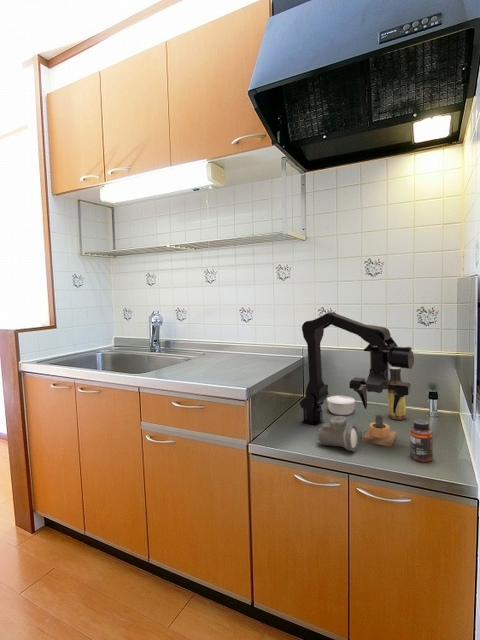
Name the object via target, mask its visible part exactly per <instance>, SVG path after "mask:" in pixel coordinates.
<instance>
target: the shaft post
mask: <svg viewBox="0 0 480 640" xmlns="http://www.w3.org/2000/svg"><path fill="white" fill-rule="evenodd" d="M375 422H376V428H383V423H384V415H382V414H376V415H375ZM361 438H362V439H361V440H362V442H366V443H371V444H374V445H381V446H385V447H390V448H391V447H392V445H393V444H394V441H395V440H396V438H397V432H396V431H391V430H390V435H389V437H388V438H376V437H372V436H371V435H370V434H369V428H368V429H367V430H366V431H365V432H364V434H363V435H362V436H361Z"/></svg>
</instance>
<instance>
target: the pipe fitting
mask: <svg viewBox="0 0 480 640" xmlns="http://www.w3.org/2000/svg"><path fill="white" fill-rule="evenodd" d="M317 440H318V442H319V443H320V445H322V446H328V447H329V446H332V447H342V448H344V449H345V450H347V451H348V452H356V450H357V448H358V445H359V433H358V429H357V426H356V425H355V424H347V418H346V417H345V416H344V415H335V416H333V417H330V419H329V422H324V423H323V424H322V426H320V427H319V430H318V431H317Z"/></svg>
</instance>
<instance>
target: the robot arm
mask: <svg viewBox="0 0 480 640" xmlns="http://www.w3.org/2000/svg"><path fill="white" fill-rule="evenodd" d="M330 326H333V327H337V328H339V329H341V330H344V331H346V332H348V333H350V334H354V335H355V336H358V337H360V338H361V339H362V340H363V341H365V342H366V343H367V346H366V347H365V348H364V349H363V352H369V359H370V360H369V363H370V365H369V374H368V376H367V378H365V377H354V378H351V380H350V381H349V383H348V384H349V389H352V390H353V391H354V392H356V393H357V394H358V395H359V398H360V399H361V402H362V406H363V407H364V409H365V410H366V409H367V408H368V394H367V392H369V393H371V392H372V393H377V394H382V393H383V390H388V389H389V390H395V392H396V393H395V394H394V406H393V413H395V411H396V409H397V406H398V403H399V401H400V399H401V397H404V396H405V397H406V396H409V395H410V393H411V392H412V385H411V383H410V382H404V381H402V382H397V384H390V371H389V368H390V367H399V368H401V369H409V370H411V369H413V367H414V363H415V356H414V352H413V351H412V348H413V347H411V346H398V344H397V343H396V341H395V340H394V339H393V337H392V336H391V332H390V329H388V328H387V327H385V326H379V325H373V324H364V323H362V322H359V321H357V320H353V319H351V318H349V317H346V316H344V315H340V314H338V313H336V312H334V311H331V312H327V313H325V314H324V315H322V316H319V317H317V318H314V319H312V320H306V321H305V322H304V323H303V324H302V326H301V331H302V336H303V339H304V340H305V342H306V345H307V346H306V347H307V361H308V362H307V363H308V364H307V365H308V382H307V386H306V388H305V397H304V398H302V400H301V401H299V404H300V408H301V409H302V413H303V414H302V415H303V419H302V420H301V423H303V424H309V425H314V426H318V425H320V423H322V421H324V418H323V413H324V411H323V409H322V405H324V403H325V400H326V401H327V399H328V395H330V394H329V391H328V390H329V385H328V384H327V383H324V381H323V376H322V375H323V374H322V372H323V370H322V355H321V354H322V350H321V349H322V348H321V342H322V340H323V337H324V330H325V329H326V328H328V327H330Z"/></svg>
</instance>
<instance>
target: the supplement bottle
mask: <svg viewBox="0 0 480 640" xmlns="http://www.w3.org/2000/svg"><path fill="white" fill-rule="evenodd" d="M429 426H430V423H429V421H427V420H425V419H421V418H420V419H415V420H413V426H412V427H410V437H409V438H410V457H411V458H412V459H413V460H414V461H417V462H421V463H427V462H431V461H433V456H434V455H433V430H432V429H431V428H430V427H429Z"/></svg>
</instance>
